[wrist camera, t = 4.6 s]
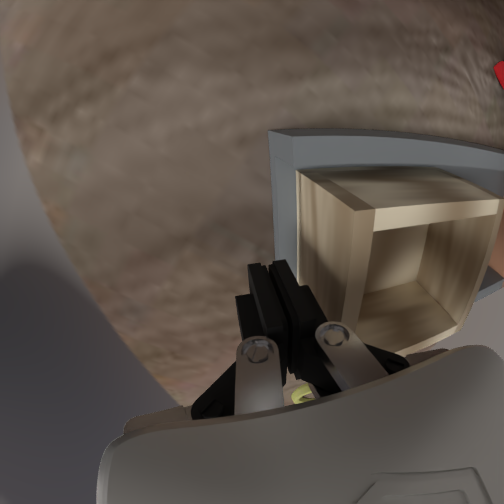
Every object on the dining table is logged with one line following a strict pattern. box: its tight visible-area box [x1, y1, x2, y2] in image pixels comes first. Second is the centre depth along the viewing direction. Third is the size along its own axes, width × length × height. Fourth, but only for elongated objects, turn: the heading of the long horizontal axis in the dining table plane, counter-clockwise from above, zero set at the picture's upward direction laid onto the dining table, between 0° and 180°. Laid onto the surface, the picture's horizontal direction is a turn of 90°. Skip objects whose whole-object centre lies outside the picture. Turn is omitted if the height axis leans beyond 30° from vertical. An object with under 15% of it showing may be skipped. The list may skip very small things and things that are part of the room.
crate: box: [296, 166, 504, 357], centre depth 13 cm, size 10×9×6 cm
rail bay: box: [268, 128, 504, 302], centre depth 16 cm, size 24×13×4 cm, turn 95°
